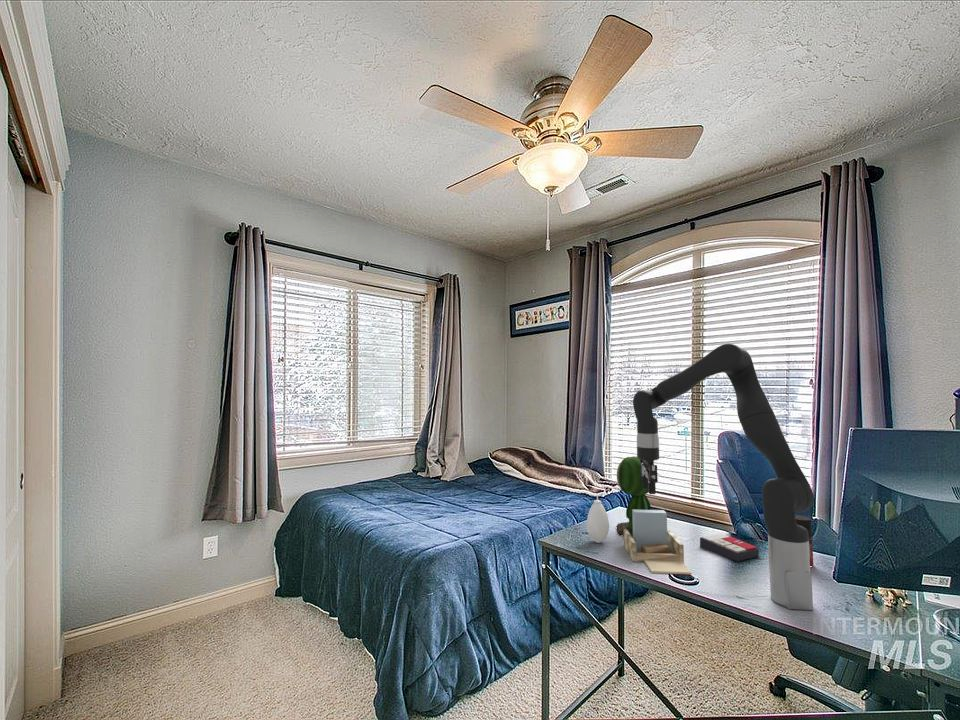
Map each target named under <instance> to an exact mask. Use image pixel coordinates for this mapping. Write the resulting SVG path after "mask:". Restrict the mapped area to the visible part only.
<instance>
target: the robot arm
mask: <svg viewBox="0 0 960 720" xmlns="http://www.w3.org/2000/svg"><path fill="white" fill-rule="evenodd" d="M720 373H724V374H726V375H727V378H728V379H729V381H730V383H731V385H732V387H733V389H734V392H735V396H736V411H737V412H736V413H737V416H738V420H739V423H740V425H741V427H742V430H743V432H744V434H745V437H746V438H747V440H748V441H749V442H750V443H751V444H752V446H754V448H755V449H756V450H757V451H759V452H760V453H761V454H762V456H764V457H765V458H766V460H767V461H768V462H769V464H770V465H771V467H772V468H773V471H774V473H775V476H776V477H775V478H770V479H767V480H766V481H765V482H764V483H763V485H762V489H761V502H762V511H763V520H764V524H765V525H766V528H767V537H768V538H767V541H768V544H767V545H768V566H769V570H768V571H769V587H770V598H771V600H772V601H773V602H775V603H776V604H778V605H779V606H783V607H785V608H787V609H788V610H801V611H802V610H803V611H813V610H814V600H813V596H814V595H813V575H812V573H811V567H810V559H809V534H808V531H807V529H806V528H804V527H803V526H800V525H797V524H796V519H795V515H796V513H799V512H806V511H809V510H810V509H811V508H812V507H813V505H814V503H815V496H814V495H815V494H814V492H813V489H812V487H811V485H810V483H809V481H808V480H807V477H806V476H805V474H804V472H803V470H802V469H801V467H800V465H799V464H798V462H797V460H796V459H795V457H794V455H793V452H792V450H791V448H790V446H789V444H788V442H787V440H786V437H785V436H784V433H783V432H782V429H781V427H780V424H779V421H778V418H777V417H776V415H775V412H774V410H773V408H772V406H771V404H770V402H769V400H768V398H767V396H766V393H765V392H764V390H763V388H762V386H761V383H760V382H759V379H758V376H757V372H756V369H755V365H754V362H753V360H752V356H751V354H750V353H749V352H748V351H747V350H746V349H744V348H743V347H740V346H738V345H736V344H734V343H723V344H721V345H718V346H717V347H716V348H714V349H713V350H711V351H710V352H709V353H708V354H706V355H704V356H703V357H702V358H700V359H699V360H698V361H696V362H694V363H693V364H691V365H690V366H688V367H687V368H685V369H683V370H682V371H680V372H678V373H675V374H674V375H671V376H669V377H668V378H665V379H664V380H661V381H660V382H659V383H658V384H657V386H655V387H652V388H651V389H648V390H646V389H645V390H638V391H637V392H636V393H634V395H633V400H632V404H633V406H632V407H633V410H634V414H635V418H636V428H637V429H636V432H637V434H636V457H637V458H638V459H640V474H641V476H642V477H643V478H642V486H643V488H645V489H648V488H649V492H648V494H650V495H656V493H657V491H656V484H657V483H658V482H659V480H658V479H659V478H658V465H657V464H655V461H657V460H660V438H659V423H658V418H656V417H655V416H654V414H653V410H654V409H657V408H659V407H661V406H663V405H664V404H666V403H667V402H669V401H670V400H673V399H676V398H678V397H680V396H682V395H684V394H686V393H687V392H690V390H692V389H693V388H695V387H696V386H697V385H699V383H701V382H702V381H703V380H706V379H707V378H709V377H711V376H713V375H714V376H715V375H717V374H720ZM652 478H653V479H652Z"/></svg>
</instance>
